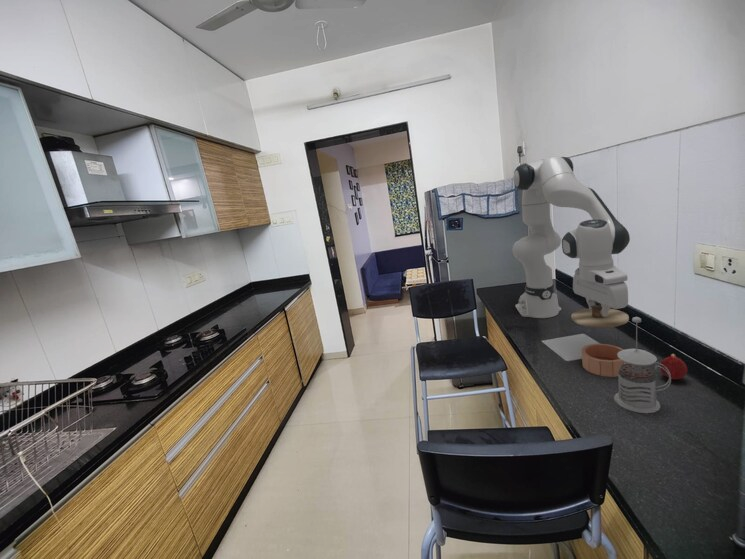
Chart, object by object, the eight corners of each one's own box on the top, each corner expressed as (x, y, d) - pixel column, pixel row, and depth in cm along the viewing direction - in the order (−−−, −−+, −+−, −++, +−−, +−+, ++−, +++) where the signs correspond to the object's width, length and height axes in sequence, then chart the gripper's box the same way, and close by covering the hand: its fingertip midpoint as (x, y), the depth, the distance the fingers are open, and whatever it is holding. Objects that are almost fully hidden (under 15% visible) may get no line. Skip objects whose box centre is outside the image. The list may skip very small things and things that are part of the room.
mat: (541, 341, 126) (541, 340, 126) (583, 334, 126) (583, 333, 126) (566, 362, 110) (566, 361, 110) (615, 353, 109) (615, 352, 109)
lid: (562, 315, 109) (561, 305, 108) (605, 307, 108) (604, 296, 108) (591, 331, 94) (590, 319, 94) (641, 321, 94) (641, 309, 93)
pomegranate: (692, 384, 88) (693, 358, 87) (668, 385, 90) (668, 360, 88) (677, 373, 94) (678, 349, 92) (654, 374, 95) (655, 350, 94)
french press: (614, 387, 93) (613, 309, 87) (668, 397, 86) (671, 311, 80) (612, 407, 86) (611, 322, 80) (671, 419, 78) (674, 327, 73)
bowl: (574, 361, 109) (573, 347, 108) (609, 355, 109) (609, 341, 107) (598, 380, 98) (598, 364, 96) (638, 373, 97) (638, 357, 96)
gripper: (566, 268, 109) (569, 306, 111) (609, 280, 89) (612, 326, 91) (584, 264, 108) (587, 302, 111) (632, 276, 88) (634, 322, 91)
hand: (598, 313), depth 101 cm, fingers closed on lid, 3 cm apart
